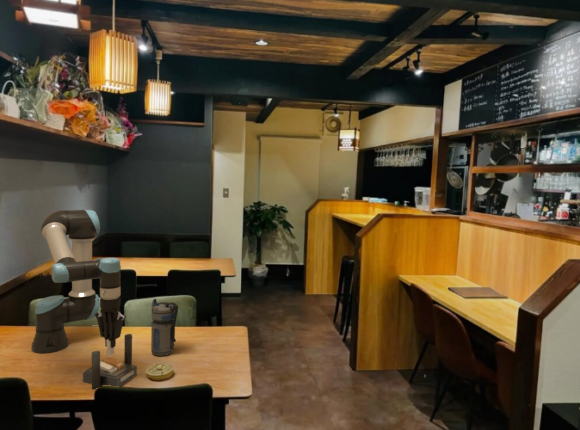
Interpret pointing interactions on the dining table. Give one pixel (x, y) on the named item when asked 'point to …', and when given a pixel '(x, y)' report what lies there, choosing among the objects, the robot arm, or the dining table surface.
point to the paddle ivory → (107, 367)
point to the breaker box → (112, 375)
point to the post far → (128, 349)
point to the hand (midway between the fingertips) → (110, 354)
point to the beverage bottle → (163, 327)
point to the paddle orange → (113, 363)
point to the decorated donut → (159, 371)
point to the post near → (95, 369)
